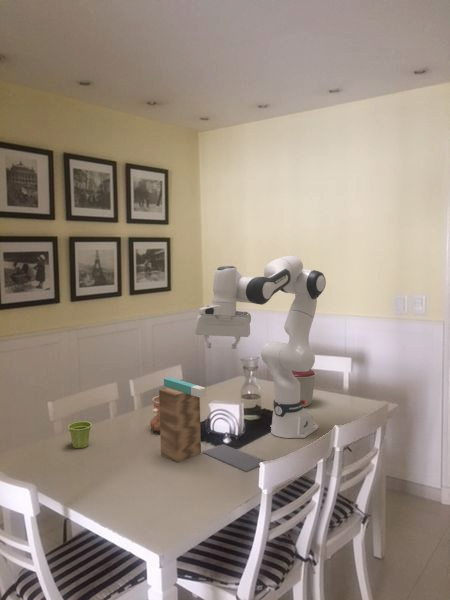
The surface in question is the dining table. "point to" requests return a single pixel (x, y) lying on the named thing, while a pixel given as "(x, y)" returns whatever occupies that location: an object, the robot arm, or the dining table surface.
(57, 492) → the dining table surface
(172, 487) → the dining table surface
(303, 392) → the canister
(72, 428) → the plant pot
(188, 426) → the tall stand
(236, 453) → the mat
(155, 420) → the ceramic jug
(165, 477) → the dining table surface
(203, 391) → the block
